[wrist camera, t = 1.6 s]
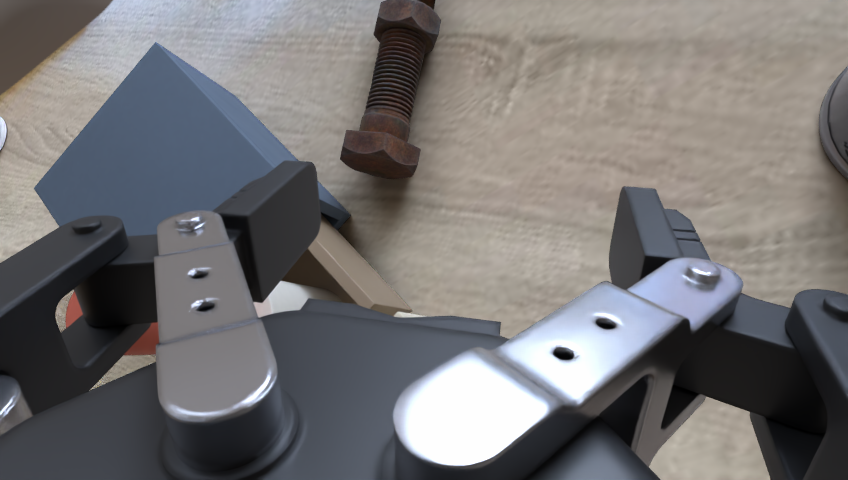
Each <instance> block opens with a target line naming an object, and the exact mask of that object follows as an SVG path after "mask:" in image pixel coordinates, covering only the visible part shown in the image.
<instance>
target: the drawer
mask: <svg viewBox="0 0 848 480" xmlns="http://www.w3.org/2000/svg"><path fill="white" fill-rule="evenodd" d="M281 281H285V282H290V283H295V284H300V285H306V286H311V287H316V288H321V289H325V290H328V291H330V292H332V293H334V294H335V295H337V296H338V297H339V298H340V300H341V301H342V302H343V303H351V304H356V305H359V306H362V307H365V308H369V309H372V310H375V311H378V312H381V313H385V314H388V315H391V316H394V317H403V318H404V317H430V316H423V315H417V314H411V313H410V312H411V311H412V309H411V308H410V307H409V306H408V305H407V304H406V303H405V302H404V301H403V300H402V299H401V298H400V297H399V296H398V294H397V293H396V292H395V291H394V290H393V289H392V288H391V287H390V286H389V285H388V284H387V283H386V282H385V281H384V280H383V279H382V278H381V276H380V275H379V274H378V273H377V272H376V271H375V270H374V269H373V268H372V267H371V266H370V265H369V264H368V263H367V262H366V261H365V259H364V258H363V257H362V256H361V255H360V254H359V253H358V252H357V251H356V250H355V249H354V248H353V247H352V246H351V245H350V244H349V242H348V241H347V240H346V239H345V238H344V237H343V236H342V235H341V234H340V233H339V232H338V231H337V230H336V229H335V228H334V227H333V226H332V224H331V223H330V222H329V221H328V220H327V219H326V218H325V217H324V216H323V215H322V214H321V225H320V230H319V233H318V235H317V237H316V238H315V240H314V241H313V242H312V243H311V245H310V246H309V247H308V248H307V249H306V251H305V252H304V253H303V254H302V256H301V257H300V258H299V259H298V260H297V262H296V263H295V264H294V265H293V266H292V268H291V269H290V270H289V271H288V273H287V274H286V275H285V276H284V277H283V279H282V280H281Z"/></svg>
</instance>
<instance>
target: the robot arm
mask: <svg viewBox="0 0 848 480" xmlns="http://www.w3.org/2000/svg"><path fill="white" fill-rule="evenodd" d="M819 132H820V137H821V141H822V144H823V147H824V149H825V151H826V154H827V155H828V157H829V159H830V160H831V162H832V163H833V164H834V166H835V167H836V168H837V169H838V170H839V171H840V172H841V174H842V175H844V176H845V177H846V178H847V179H848V66H847V67H846V68H845V69H844V71H843V72H842V73H841V74H840V75H839V76H838V77H837V78H836V80H835V81H834V82H833V83H832V85H831V86H830V88H829V89H828V91H827V93H826V95H825V97H824V100H823V102H822V105H821V109H820V114H819ZM320 225H321V211H320V201H319V191H318V181H317V172H316V168H315V166H314V164H313V163H312V162H303V161H290V160H285V161H283V162H282V163H280V164H279V165H278V166H277V167H275V168H274V169H273V170H272V171H270V172H269V173H268V174H266V175H265V176H264V177H261V178H259V179H256V180H254V181H251V182H249V183H248V184H247V185H245V186H244V187H243V188H241V189H240V191H239V192H238V191H237V192H236V193H235V194H234V195H232V196H231V198H228V199H227V200H226V201H224V202H223V203H222V204H220V205H219V206H218V207H217V208H215V209H214V210H213V211H205V210H197V211H187V212H183V213H179V214H176V215H173V216H170V217H168V218H166V219H164V220H163V221H162V222H160V223H159V224H158V226H157V234H153V235H137V236H127V235H126V231H125V228H124V225H123V221H122V220H121V219H120V218H118V217H115V216H109V215H99V216H88V217H83V218H80V219H77V220H74V221H71V222H69V223H67V224H64V225H63V226H61V227H59V228H57V229H56V230H54V231H52V232H51V233H49V234H48V235H46V236H44V237H43V238H41V239H39V240H38V241H36V242H34V243H33V244H31V245H29V246H28V247H26V248H25V249H23V250H21V251H20V252H18V253H16V254H15V255H13V256H11V257H10V258H8V259H7V260H5V261H3V262H2V263H0V480H660V479H659V478H658V476H657V475H656V474H655V473H654V472H653V471H652V470H651V469H650V468H649V465H650V463H651V461H652V459H653V458H654V456H655V454H656V453H657V451H658V450H659V449H660V448H661V446H662V445H663V444H664V443H665V442H666V441H667V440H668V439H669V438H670V437H671V436H672V435H673V434H674V433H675V432H676V431H677V430H678V428H679V427H680V426H681V425H682V424H683V423H684V422H685V421H686V420H687V419H688V418H689V417H690V416H691V415H692V414H693V413H694V412H695V410H696V409H697V408H698V407H699V406H700V405H701V404H702V403H703V402H704V400H705V398H706V396H707V397H710V398H713V399H715V400H718V401H721V402H724V403H727V404H730V405H732V406H735V407H738V408H741V409H744V410H747V411H749V412H750V419H751V422H752V425H753V428H754V431H755V434H756V437H757V440H758V443H759V445H760V448H761V451H762V454H763V457H764V460H765V463H766V466H767V469H768V472H769V475H770V478H771V480H848V295H846V294H843V293H839V292H835V291H829V290H821V289H811V290H805V291H801V292H799V293H798V294H797V295H796V296H795V298H794V301H793V303H792V306H791V308H788V307H784V306H780V305H777V304H773V303H769V302H765V301H762V300H758V299H755V298H752V297H750V296H747V295H745V294H742V293H741V291H742V288H743V282H742V280H741V278H740V277H739V276H738V275H737V274H736V273H735V272H734V271H732V270H731V269H729V268H727V267H725V266H723V265H721V264H718V263H715V262H712V261H711V260H710V258H709V256H708V254H707V252H706V250H705V248H704V246H703V244H702V242H700V238H699V236H698V234H697V233H695V232H696V230H695V228H694V227H693V225H692V223H691V221H690V220H689V219H688V218H687V217H685V216H684V215H683V214H681V213H680V212H678V211H677V210H672V209H664V208H663V206H662V203H661V201H660V199H659V196H658V194H657V192H656V190H655V189H652V188H638V187H625V186H624V187H623V188H622V190H621V193H620V197H619V202H618V207H617V213H616V218H615V223H614V229H613V234H612V239H611V245H610V253H609V269H610V275H611V280H612V283H610V282H608V281H604V282H601V283H599V284H597V285H596V286H594V287H593V288H591V289H589V290H588V291H586V292H585V293H583V294H581V295H580V296H578V297H577V298H575V299H573V300H572V301H570V302H569V303H567V304H566V305H564V306H562V307H561V308H559V309H558V310H556V311H554V312H553V313H551V314H550V315H548V316H546V317H545V318H543V319H542V320H540V321H538V322H537V323H535V324H534V325H532V326H530V327H529V328H527V329H526V330H524V331H522V332H521V333H519V334H518V335H516V336H515V337H513V338H511V339H507V338H505V337H502V336H500V325H501V322H495V321H487V320H479V319H471V318H463V317H455V316H435V317H404V318H403V317H394V316H391V315H388V314H385V313H381V312H378V311H375V310H372V309H369V308H365V307H362V306H359V305H356V304H351V303H343V302H335V301H327V300H319V299H311V298H308V299H307V301H306V302H305V304H304V305H303V306H302V308H301V309H300V310H293V311H284V312H279V313H273V314H269V315H266V316H262V317H258V315H257V312H256V309H255V306H254V303H253V302H258V303H263V302H264V301H265V299H266V298H267V297H268V296H269V294H270V293H271V292H272V291H273V290H274V288H275V287H276V286H277V285H278V283H279V282H280V281H281V280H282V279H283V277H284V276H285V275H286V274H287V273H288V271H289V270H290V269H291V268H292V266H293V265H294V264H295V263H296V262H297V260H298V259H299V258H300V257H301V256H302V254H303V253H304V252H305V251H306V249H307V248H308V247H309V246H310V245H311V243H312V242H313V241H314V240H315V238H316V237H317V235H318V233H319V230H320ZM73 289H74V292H75V294H76V297H77V300H78V302H79V305H80V308H81V310H82V313H83V315H81V316H80V317H79V318H78V319H77V320H76V321H74V322H73V323H72V324H71V325H70V326H68V327H67V328H66V329H65V330H64V331H63V332H61V333H60V330H59V328H58V325H57V323H56V319H55V311H56V307H57V305H58V303H59V301H60V300H61V299H62V298H63V297H64V296H65V295H66V294H68V293H69V292H70V291H72V290H73ZM156 322H158V332H159V343H158V344H156V362H154V363H152V364H150V365H148V366H145V367H143V368H141V369H138V370H136V371H134V372H132V373H129V374H127V375H125V376H122V377H120V378H118V379H116V380H113V381H111V382H109V383H106V384H104V385H102V386H100V387H97V388H95V389H93V390H90V389H91V388H92V387H93V386H94V385H95V384H96V383H97V382H98V381H99V380H100V379H101V378H102V377H103V376H104V375H105V374H106V373H107V372H108V370H109V369H110V368H111V367H112V366H113V365H114V364H115V363H116V362H117V361H118V360H119V359H120V358H121V357H122V356H123V355H124V354H125V353H126V352H127V351H128V350H129V349H130V348H131V347H132V346H133V345H134V344H135V342H136V341H137V340H138V339H139V338H140V337H141V336H142V335H143V334H144V333H145V332H146V331H147V330H148V329H149V328H150V326H151V323H156ZM89 390H90V391H89Z"/></svg>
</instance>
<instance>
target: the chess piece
mask: <svg viewBox="0 0 848 480" xmlns="http://www.w3.org/2000/svg"><path fill="white" fill-rule="evenodd" d="M6 133H7V129H6V124H5V121H4V120H3V119H2V117H0V150H1V149H2V147H3V145H4V142H5V139H6Z"/></svg>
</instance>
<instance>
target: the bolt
mask: <svg viewBox="0 0 848 480" xmlns="http://www.w3.org/2000/svg"><path fill="white" fill-rule="evenodd" d="M434 4H435V0H386V1H383V2H381V4H380V9H379V13H378V18H377V22H376V26H375V31H374V36H375V37H376V38H377V40H378V41H379V42H380V46H379V50H378V57H377V59H376V60H377V61H376V63H375V64H376V65H375V70H374V72H373V73H374V74H373V79H372V84H371V88H370V92H369V96H368V101H367V105H366V110H365V113H364V116H363V117H362V120H361V125H360V129H359V131H353V130H346V134H345V139H344V143H343V147H342V152H341V157H340V160H342V161H343V162H344V163H345V164H346V165H347V166H349V167H350V168H352V169H354V170H356V171H360V172H363V173H366V174H370V175H374V176H378V177H383V178H388V179H399V178H407V177H411V176H412V175H413V174H414V172H415V170H416V167H417V165H418V160H419V155H420V150H421V149H420V148H417V147H415V146H413V145H411V144H409V143H407V141H408V136H409V131H410V127H409V125H410V124H409V123H410V119H411V115H412V114H411V113H412V109H413V104H414V100H415V95H416V90H417V86H418V81H419V77H420V72H421V66H422V62H423V61H422V60H423V56H424V54H426V53H428V52H430V51H431V50H432V49H433V47H434V45H435V42H436V39H437V37H438V33H439V28H440V23H441V20H440V18H439V17H438V15H437V14H436V13H435V12H434V11H433V9H434Z"/></svg>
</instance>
